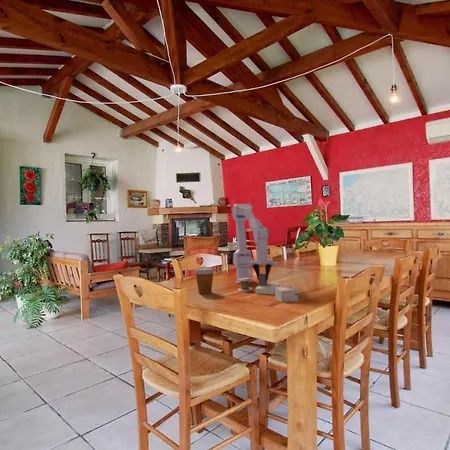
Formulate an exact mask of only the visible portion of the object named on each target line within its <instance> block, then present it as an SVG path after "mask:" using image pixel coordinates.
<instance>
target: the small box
mask: <svg viewBox="0 0 450 450" xmlns="http://www.w3.org/2000/svg"><path fill="white" fill-rule="evenodd" d="M274 299H276V300H277V301H278V302H281V303H284V302H285V303H289V302H299V290H298V288H296V287H293V286H292V285H288V286H280V287H275V294H274Z"/></svg>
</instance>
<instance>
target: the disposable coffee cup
mask: <svg viewBox="0 0 450 450" xmlns="http://www.w3.org/2000/svg"><path fill="white" fill-rule="evenodd" d="M214 272H215V270H214V268H213V267H210V266H207V267H196V268H195V270H194V274H195V278H196V285H197V291H198V294H199V295H207V294H208V295H209V294H211V293H212V291H213V289H212V288H213V278H214Z"/></svg>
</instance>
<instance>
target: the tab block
mask: <svg viewBox="0 0 450 450" xmlns="http://www.w3.org/2000/svg"><path fill="white" fill-rule="evenodd" d="M257 280H258V286H260V285H267V282H268V280H266V273H260V274H259V275H258V279H257Z"/></svg>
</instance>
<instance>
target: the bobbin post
mask: <svg viewBox="0 0 450 450" xmlns="http://www.w3.org/2000/svg"><path fill="white" fill-rule="evenodd" d="M250 280H252V278H251V279H250V278H240V279H239V281H241V283H240V287H239V288H238V289H237V290H238V292H252V291H253V288H252V287H250V283H249V281H250Z"/></svg>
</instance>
